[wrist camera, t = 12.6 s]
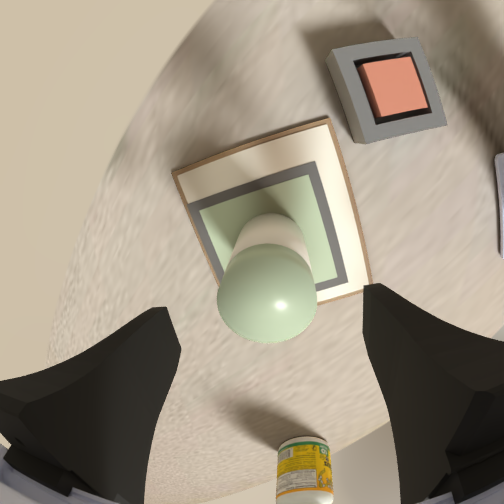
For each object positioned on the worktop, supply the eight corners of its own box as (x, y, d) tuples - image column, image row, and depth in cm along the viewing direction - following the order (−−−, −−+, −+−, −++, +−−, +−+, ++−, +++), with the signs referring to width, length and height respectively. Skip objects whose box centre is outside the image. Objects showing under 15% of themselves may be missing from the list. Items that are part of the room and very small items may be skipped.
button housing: (401, 47, 13) (417, 37, 11) (428, 125, 15) (447, 125, 12) (325, 60, 14) (331, 49, 12) (354, 143, 16) (366, 144, 13)
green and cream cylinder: (295, 205, 17) (304, 245, 11) (311, 267, 18) (325, 331, 12) (228, 223, 18) (202, 272, 12) (249, 282, 19) (235, 350, 13)
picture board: (329, 117, 15) (330, 117, 15) (373, 287, 19) (374, 289, 18) (172, 172, 17) (170, 173, 17) (237, 324, 21) (236, 327, 20)
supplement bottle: (275, 436, 26) (270, 520, 17) (329, 431, 25) (336, 516, 16) (281, 460, 27) (277, 533, 19) (329, 456, 27) (333, 529, 18)
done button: (401, 61, 12) (410, 56, 11) (418, 108, 13) (427, 107, 12) (356, 68, 13) (362, 64, 12) (374, 118, 14) (381, 116, 12)
